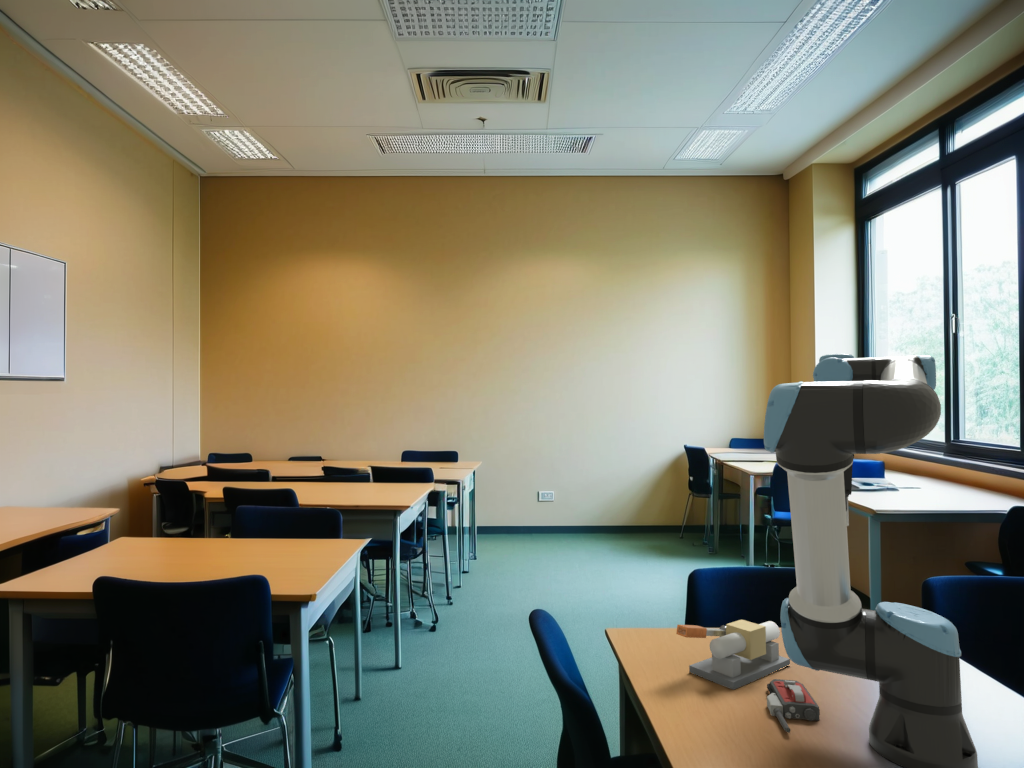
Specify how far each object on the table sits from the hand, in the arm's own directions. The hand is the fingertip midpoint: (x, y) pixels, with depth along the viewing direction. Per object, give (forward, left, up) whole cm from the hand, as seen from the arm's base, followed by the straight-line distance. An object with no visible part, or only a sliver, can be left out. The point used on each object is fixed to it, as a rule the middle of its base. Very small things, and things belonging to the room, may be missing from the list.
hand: (841, 525), depth 139 cm
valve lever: (-2, +25, -26) cm, 36 cm away
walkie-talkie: (-25, +16, -33) cm, 44 cm away
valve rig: (-5, +23, -32) cm, 40 cm away
